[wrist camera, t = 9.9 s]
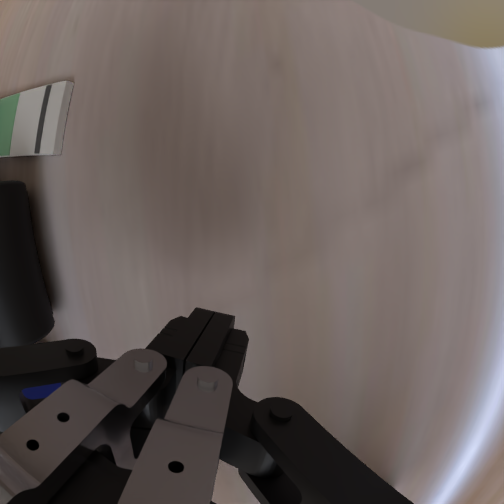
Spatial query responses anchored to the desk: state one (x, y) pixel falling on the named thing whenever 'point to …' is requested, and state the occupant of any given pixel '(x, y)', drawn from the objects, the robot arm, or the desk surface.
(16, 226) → the end cap
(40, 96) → the gauge scale
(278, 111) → the desk surface
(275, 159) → the desk surface
